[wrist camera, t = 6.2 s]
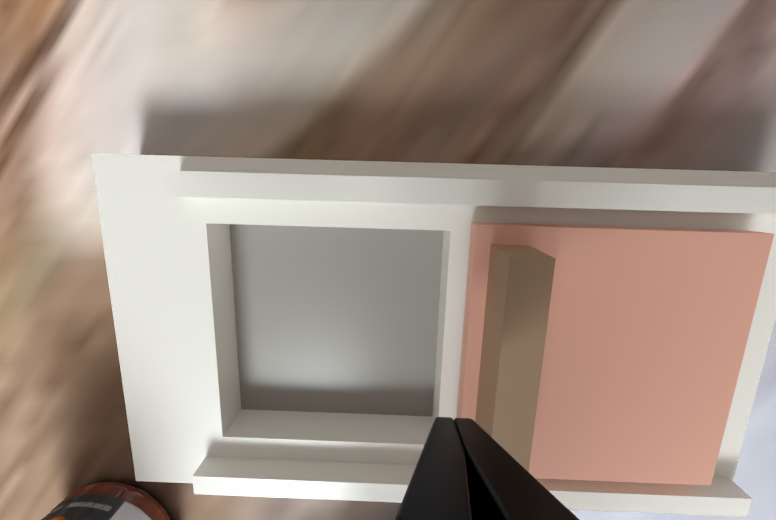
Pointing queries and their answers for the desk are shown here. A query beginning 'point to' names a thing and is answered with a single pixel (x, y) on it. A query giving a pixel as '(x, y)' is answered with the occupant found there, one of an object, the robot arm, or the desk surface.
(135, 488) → the supplement bottle
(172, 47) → the desk surface
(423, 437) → the board
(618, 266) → the lid
